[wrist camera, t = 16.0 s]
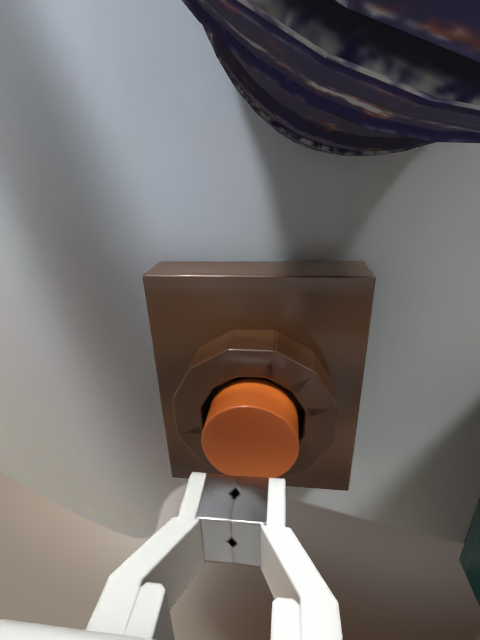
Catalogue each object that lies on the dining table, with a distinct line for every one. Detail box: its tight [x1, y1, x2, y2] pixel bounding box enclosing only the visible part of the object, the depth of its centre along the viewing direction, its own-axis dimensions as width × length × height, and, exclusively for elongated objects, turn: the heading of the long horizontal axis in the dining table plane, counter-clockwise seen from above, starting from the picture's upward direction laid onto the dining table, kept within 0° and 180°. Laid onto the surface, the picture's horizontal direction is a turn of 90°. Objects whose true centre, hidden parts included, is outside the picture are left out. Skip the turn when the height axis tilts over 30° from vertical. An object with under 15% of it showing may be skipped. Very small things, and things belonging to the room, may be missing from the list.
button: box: [201, 379, 299, 478], centre depth 14 cm, size 4×4×2 cm
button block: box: [143, 262, 376, 491], centre depth 16 cm, size 11×9×4 cm
